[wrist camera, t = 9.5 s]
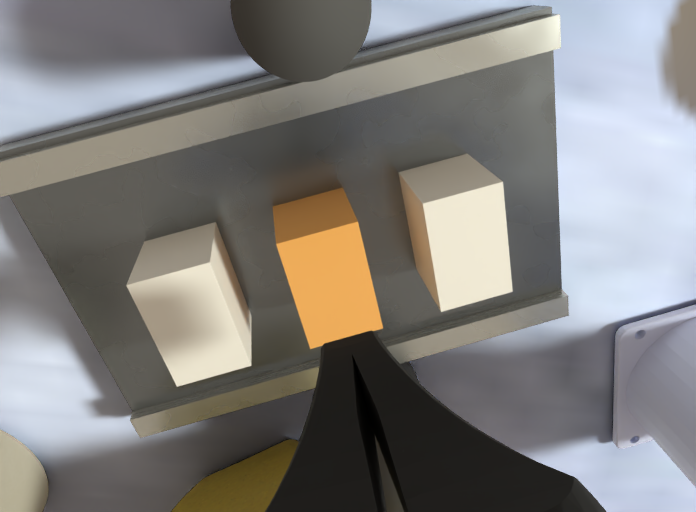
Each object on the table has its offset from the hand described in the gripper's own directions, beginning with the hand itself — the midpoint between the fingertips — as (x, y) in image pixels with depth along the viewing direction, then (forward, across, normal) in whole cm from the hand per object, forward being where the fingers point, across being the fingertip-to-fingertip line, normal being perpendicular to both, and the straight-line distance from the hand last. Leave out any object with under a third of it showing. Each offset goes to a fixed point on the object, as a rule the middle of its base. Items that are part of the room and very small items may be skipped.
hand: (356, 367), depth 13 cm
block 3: (+7, -4, 0) cm, 8 cm away
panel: (+8, 0, 0) cm, 8 cm away
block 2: (+7, 0, 0) cm, 7 cm away
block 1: (+7, +5, 0) cm, 8 cm away
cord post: (+8, -1, -8) cm, 11 cm away
